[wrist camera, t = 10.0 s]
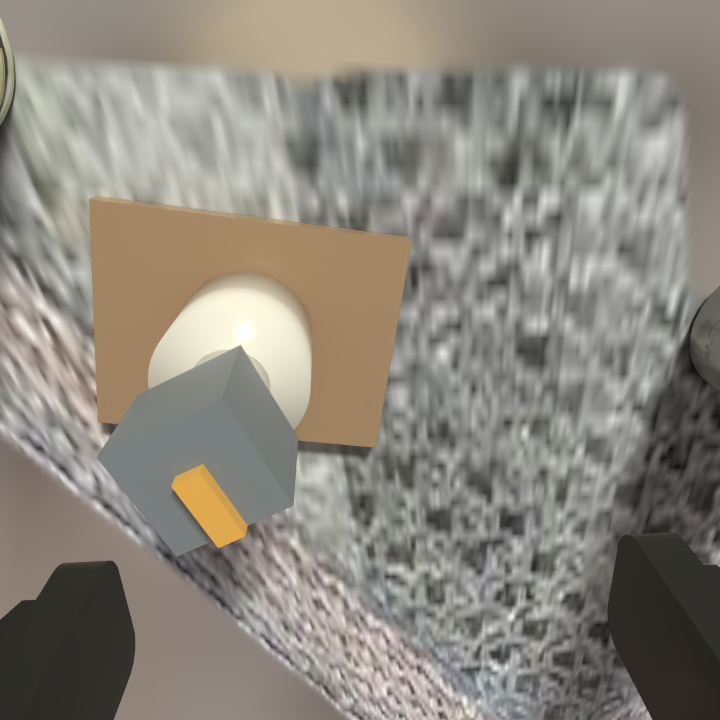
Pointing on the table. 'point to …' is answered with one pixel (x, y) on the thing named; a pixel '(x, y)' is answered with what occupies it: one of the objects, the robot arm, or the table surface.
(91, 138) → the table surface
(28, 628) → the robot arm
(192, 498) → the grey cube with tab
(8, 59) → the coffee can
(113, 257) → the board with white bottle
